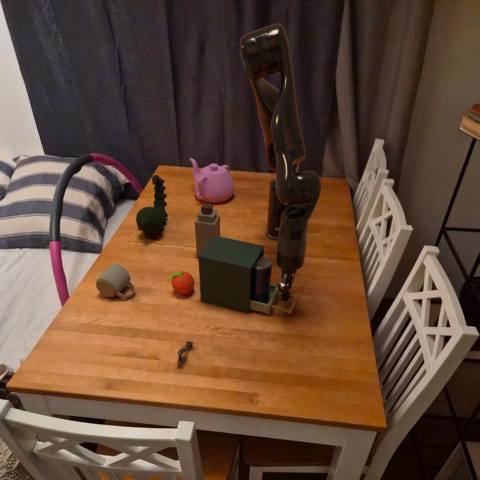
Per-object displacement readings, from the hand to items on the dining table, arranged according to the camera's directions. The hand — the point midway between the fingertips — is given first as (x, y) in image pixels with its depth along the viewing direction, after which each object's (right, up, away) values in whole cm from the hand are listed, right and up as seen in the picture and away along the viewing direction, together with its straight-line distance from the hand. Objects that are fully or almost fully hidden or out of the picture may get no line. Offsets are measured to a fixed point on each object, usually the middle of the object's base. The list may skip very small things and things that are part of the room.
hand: (285, 299), depth 117 cm
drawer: (-7, 0, +4) cm, 8 cm away
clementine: (-31, +3, +8) cm, 32 cm away
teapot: (-26, +48, +59) cm, 80 cm away
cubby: (-16, +2, +7) cm, 17 cm away
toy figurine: (-45, +28, +36) cm, 64 cm away
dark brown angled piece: (-27, -15, -12) cm, 34 cm away
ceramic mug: (-50, +3, +7) cm, 51 cm away
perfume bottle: (-24, +17, +24) cm, 38 cm away
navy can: (-8, +1, +4) cm, 8 cm away
